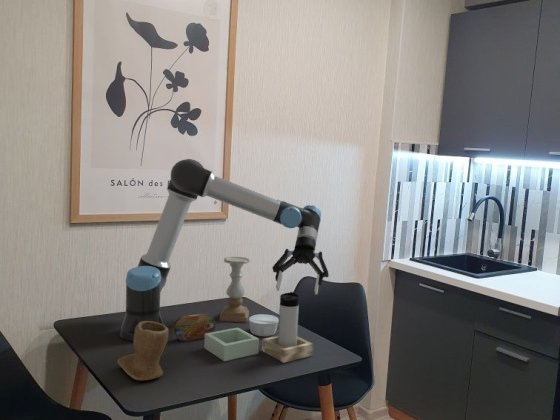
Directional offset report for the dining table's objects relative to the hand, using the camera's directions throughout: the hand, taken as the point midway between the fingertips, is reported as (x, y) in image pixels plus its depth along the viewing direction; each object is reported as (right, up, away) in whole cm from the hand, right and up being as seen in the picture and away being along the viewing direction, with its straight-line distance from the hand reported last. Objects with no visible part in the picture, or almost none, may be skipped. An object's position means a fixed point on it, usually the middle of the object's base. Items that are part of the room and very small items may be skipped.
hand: (296, 290), depth 180 cm
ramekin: (-12, -18, +12) cm, 24 cm away
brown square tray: (-3, -20, -8) cm, 21 cm away
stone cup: (-46, -20, -28) cm, 57 cm away
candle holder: (-24, -15, +28) cm, 40 cm away
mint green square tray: (-22, -19, -8) cm, 30 cm away
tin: (-36, -17, +3) cm, 40 cm away
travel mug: (-3, -20, -8) cm, 21 cm away
